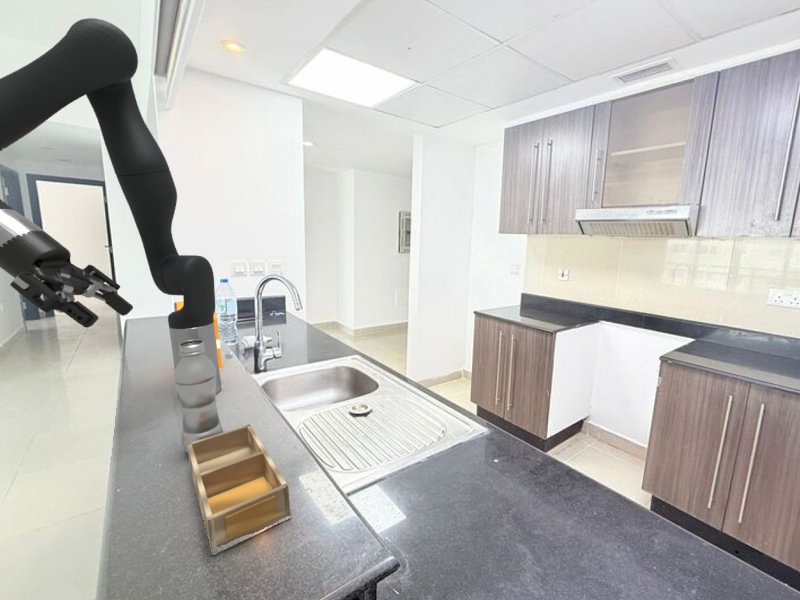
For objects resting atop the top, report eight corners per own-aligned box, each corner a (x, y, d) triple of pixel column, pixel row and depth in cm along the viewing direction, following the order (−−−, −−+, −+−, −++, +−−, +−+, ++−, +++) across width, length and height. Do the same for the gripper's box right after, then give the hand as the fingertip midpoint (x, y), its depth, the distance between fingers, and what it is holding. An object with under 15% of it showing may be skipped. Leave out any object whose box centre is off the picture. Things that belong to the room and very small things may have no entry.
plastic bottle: (214, 435, 68) (202, 335, 65) (231, 448, 64) (219, 341, 60) (177, 451, 64) (162, 343, 60) (193, 466, 59) (177, 351, 56)
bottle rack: (190, 471, 58) (187, 443, 57) (252, 450, 64) (249, 424, 63) (212, 558, 43) (207, 522, 42) (291, 519, 48) (288, 487, 47)
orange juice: (182, 367, 103) (173, 300, 99) (215, 360, 109) (208, 296, 105) (187, 376, 97) (178, 304, 94) (222, 368, 103) (215, 299, 99)
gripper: (-11, 227, 48) (96, 309, 51) (72, 229, 61) (152, 293, 65) (-48, 268, 48) (62, 346, 51) (43, 261, 62) (125, 323, 65)
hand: (112, 317), depth 58 cm, fingers open, 8 cm apart
